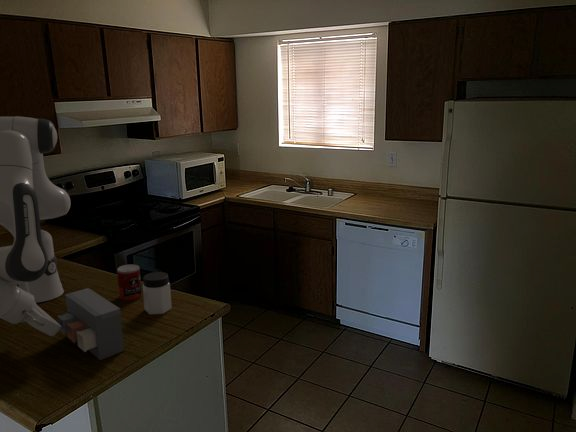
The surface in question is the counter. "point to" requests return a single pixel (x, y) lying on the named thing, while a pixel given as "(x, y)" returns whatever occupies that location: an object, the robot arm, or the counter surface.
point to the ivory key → (86, 339)
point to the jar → (156, 293)
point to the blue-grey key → (65, 321)
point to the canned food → (129, 282)
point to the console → (98, 320)
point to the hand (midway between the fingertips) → (59, 327)
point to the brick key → (74, 329)
